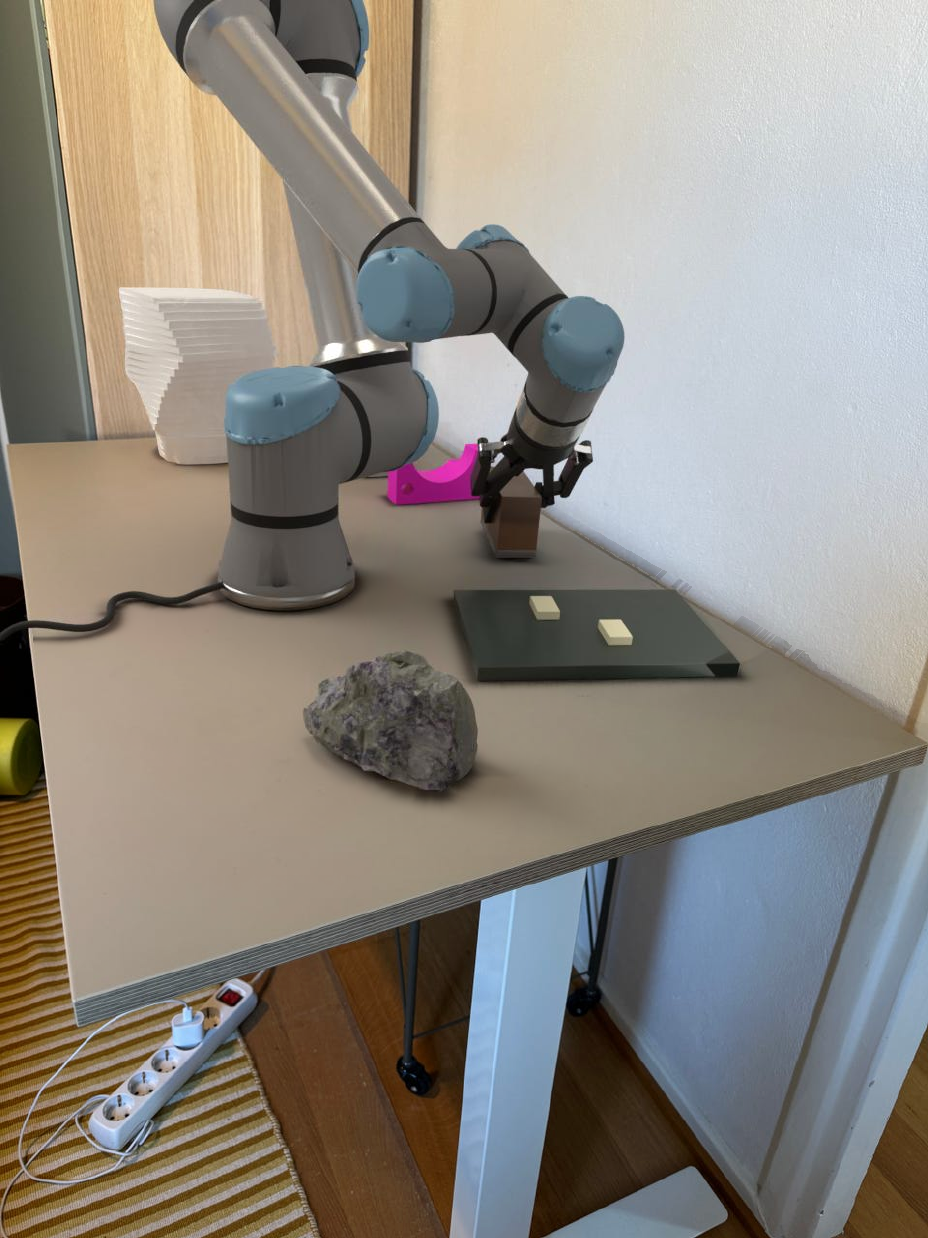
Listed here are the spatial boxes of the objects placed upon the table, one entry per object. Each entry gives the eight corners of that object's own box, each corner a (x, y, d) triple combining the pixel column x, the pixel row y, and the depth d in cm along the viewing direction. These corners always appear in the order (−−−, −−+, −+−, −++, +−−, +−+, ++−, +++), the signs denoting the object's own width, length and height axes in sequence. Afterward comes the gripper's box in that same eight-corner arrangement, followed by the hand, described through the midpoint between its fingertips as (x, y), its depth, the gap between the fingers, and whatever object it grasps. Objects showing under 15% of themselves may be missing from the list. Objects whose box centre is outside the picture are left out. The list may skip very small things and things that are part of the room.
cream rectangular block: (559, 619, 92) (560, 611, 91) (537, 620, 91) (537, 611, 91) (550, 604, 95) (551, 595, 95) (529, 604, 95) (529, 595, 94)
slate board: (737, 676, 86) (740, 663, 85) (477, 681, 82) (478, 667, 81) (673, 600, 102) (675, 589, 101) (452, 601, 98) (453, 589, 97)
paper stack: (129, 444, 149) (112, 283, 138) (284, 436, 160) (280, 287, 149) (146, 478, 132) (128, 299, 121) (319, 467, 143) (316, 301, 132)
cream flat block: (631, 645, 87) (633, 636, 87) (608, 645, 87) (609, 636, 86) (619, 627, 91) (621, 619, 90) (597, 628, 90) (598, 619, 90)
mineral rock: (296, 735, 72) (293, 626, 68) (407, 702, 78) (411, 599, 73) (373, 822, 62) (375, 701, 58) (494, 777, 68) (504, 664, 64)
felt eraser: (535, 558, 110) (542, 497, 107) (496, 557, 109) (502, 496, 106) (515, 523, 122) (521, 467, 118) (480, 522, 121) (484, 466, 117)
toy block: (471, 485, 139) (474, 439, 136) (488, 497, 134) (491, 449, 131) (382, 492, 133) (383, 443, 130) (396, 504, 128) (397, 454, 125)
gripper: (626, 391, 96) (571, 490, 117) (464, 384, 93) (438, 487, 115) (634, 451, 93) (576, 541, 115) (467, 446, 90) (441, 539, 112)
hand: (507, 514), depth 115 cm, fingers closed on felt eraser, 5 cm apart
